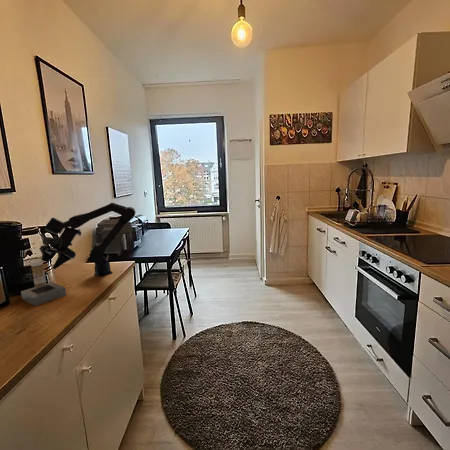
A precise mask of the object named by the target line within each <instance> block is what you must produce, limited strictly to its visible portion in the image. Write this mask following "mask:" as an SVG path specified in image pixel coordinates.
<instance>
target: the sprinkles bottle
mask: <svg viewBox="0 0 450 450" xmlns="http://www.w3.org/2000/svg"><path fill="white" fill-rule="evenodd" d="M30 266H31V271H33V272H32V278H33V277H34V279H33V283H34V287H37V286H40V285H44V284H47V283H46V275H45V270H44V266H43V260H41V259H33V260H32V261H31V260H30Z"/></svg>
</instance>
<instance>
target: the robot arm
mask: <svg viewBox="0 0 450 450" xmlns="http://www.w3.org/2000/svg"><path fill="white" fill-rule="evenodd" d="M111 212H114V213H115V214H117V215H119V216H120V217H119V219H118V221H117V222H116V224H115V225H114V226H113V227H112V229H111V230H110V231H109V232H108V234H107V235H106V236H105V238H103V240H102V241H101V242H100V243H99V242H96V243H95V245H94V246H93V247H92V248H91V249H90V251H89V258H90V259H91V261H93V263H94V275H95V276H98V277H104V276H107V275H110V274H112V273H113V271H111V264H110V260H109V258H110V256H109V254H107V252H106V251H107V249H108V248H109V246H110V245H111V243H112V242H113V241H114V240H115V238H116V237H117V236H118V234H119V233H120V232H121V230H122V229H123V228H124V226H126V225H127V224H128V223H129V222H130V221H132V219H134V218H135V215H136V210H135V208H134V207H131V206H127V207H126V206H125V205H121V204H118V203H116V202H110V203H108V204H107V205H104V206H101V207H100V208H99V207H98V208H97V209H94V210H91V211H89V212H86V213H79V214H76V215H73V216H70V217H69V218H68V220H66V221H62V220H60V219H57V218H55V217H51V219H49V221H47V223H46V225H45V227H44V230H45V231H47V232H49V233H52V234H54V236H53V237H51V236H49V237H48V236H44V237H43V239H42V242H41V244H42V245H41V246H40V247H39V251H40V253H41V259H40V260H43V261H47V263H49V261H51V260H52V259H53V258H54V256H55V255H56V254H57V258H56V260H55V262H54V264H53V266H52V269H53V270H56V269H57V268H59V267H61V266H62V265H64V264H65V263H67V262H69V261H70V260H72V259H75V257H76V255H77V253H76V251H74V250H73V249H72V248H69V247H72V246H73V240H74V239H75V238H76V237H77V236H78V237H81V236H82V232H81V229H80V227H81V226H83V225H84V224H86V223H88V222H89V221H91V220H93V219H96V218H98V217H101V216H104V215H106V214H108V213H111ZM78 228H79V229H78ZM58 234H60V235H59V236H56V235H58Z"/></svg>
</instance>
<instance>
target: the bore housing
mask: <svg viewBox="0 0 450 450" xmlns="http://www.w3.org/2000/svg"><path fill="white" fill-rule="evenodd" d="M20 294H21V300H22V299H23V301H24V300H25V301H24V302H26V303H27V304H30V305H32V306H34V307H37V306H40V305H42V304H45V303H48V302H52V301H53V300H56V299H59V298H63V297H65V296H67V289H66V287H65V286H63V285H60V284H57V283H55V282H53V281H51V282H48V283H46V284H44V285H40V286H37V287H35V286H34V287H31V288H27V289H24V290H21V291H20Z"/></svg>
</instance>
